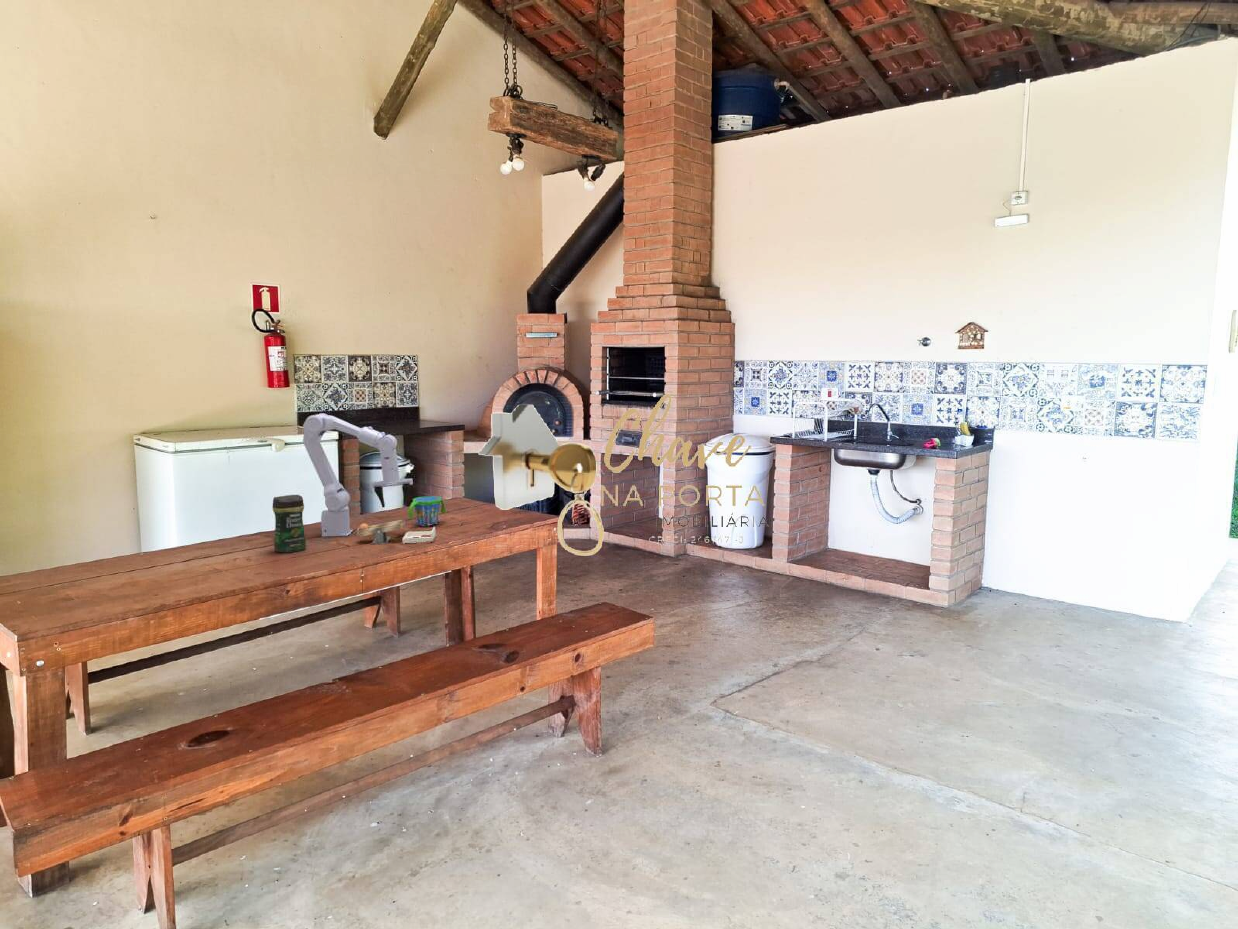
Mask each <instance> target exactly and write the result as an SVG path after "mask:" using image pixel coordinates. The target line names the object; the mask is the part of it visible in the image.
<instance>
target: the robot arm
mask: <svg viewBox="0 0 1238 929" xmlns="http://www.w3.org/2000/svg"><path fill="white" fill-rule="evenodd" d="M302 428H303V436H302V437H303V439H302V443H303V445H304V447H305V450H306V452H307V454H308V456H309V458H310V460H311V461H310V462H312V464H313V465H312V466H313V468H314V469H315V472H316V473H317V476H318V478H319V481H320V483H321V485H322V486H323V496H324V499H325V500H324V504H325V507H326V508H327V510H326V509H325V510H322V511H321V516H320V523H321V537H348V535H349V534H350V535H351V534H352V533H353V532H352V531H354V530H353V529H351V524H350V508H349V503H350V502H351V495H350V493H349V492H348V491H347V490H346V489H345V487H344V486H343V484H342V483H340V482H339V480H338V479H337V477H336V474H335V471H334V470H333V468H332V466H331V463H330V461H329V459H328V457H327V455H326V453H325V450H324V448H323V445H322V444H321V440H322V439H323V436H324V434H325V433H326V432H327V431H331V430H336V431H340V432H341V433H342V432H343V433H345V434H348V435H352V436H353V437H357V439H358V441H359V442H360V443H362V444H366V445H367V446H371V447H373V448H375V449H377V450H378V451H379V454H380V464H381V472H382V480H380V481H374V482H370V489H374V493H375V494H376V496H377V498H378V499H379V502H380V504H381V508H385V506H386V505H385V504H386V502H385V498H384V488H386V487H388V488H389V487H396V486H401V488H402V496H403V505H404V506H407V502H408V501H407V499H408V493H409V490H410V487H411V486H413V483H414V481H413V478H400V471H399V462H398V455H397V448H396V447H397V446H398V440H397V439H396V437H395V436H394V435H392V434H386V432H384V431H382V432H380V431H378V430H375V429H374V428H373V427H372V426H364V427H359V426H356V425H354V424H351V423H349V422H348V421H345V420H343V419H341V418H338V417H336V416H334V415H330V414H329V415H328V414H326V413H324V412H322V413H321V412H320V413H319V414H318V413H317V414H314V415H313V414H312V415H309V416H308V417H307V418H306V419H305V421H304V423H303V425H302ZM351 532H352V533H351ZM350 535H349V536H350Z"/></svg>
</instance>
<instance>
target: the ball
mask: <svg viewBox="0 0 1238 929" xmlns="http://www.w3.org/2000/svg"><path fill="white" fill-rule="evenodd" d="M368 526H369V524H368V523H361V524H360V525H359V527H360V530H366V529H369V527H368Z"/></svg>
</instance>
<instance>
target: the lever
mask: <svg viewBox="0 0 1238 929" xmlns="http://www.w3.org/2000/svg"><path fill="white" fill-rule="evenodd" d="M407 520H408V519H407V518H403V519H398V520H394V521H388V522H383V523H380V524H375V525H374V524H373V525H368V527H369V529H366V530H360V526H359V527H358V528H357V529H356V535H357V538H361V537H365V536H371V535H375V530H376V529H383V532H387V533H388V532H390V531H392V532H393V531H396V530H401V529H403V527H404V526H405V524H406V523H407V522H408V521H407Z"/></svg>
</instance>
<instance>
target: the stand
mask: <svg viewBox="0 0 1238 929" xmlns="http://www.w3.org/2000/svg"><path fill="white" fill-rule="evenodd" d="M387 534H388V531H387V532H383V529H376V530H375V534H374V535H375V538H374V540H373V541H372V542H371V545H387V544H388V543H389V542H390V540H391V539H392V538H391V536H388V535H387ZM390 538H391V539H390ZM387 542H388V543H387ZM378 543H380V544H378ZM382 543H383V544H382Z"/></svg>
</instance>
